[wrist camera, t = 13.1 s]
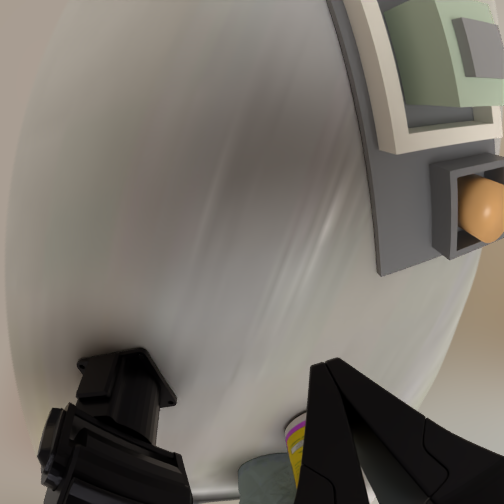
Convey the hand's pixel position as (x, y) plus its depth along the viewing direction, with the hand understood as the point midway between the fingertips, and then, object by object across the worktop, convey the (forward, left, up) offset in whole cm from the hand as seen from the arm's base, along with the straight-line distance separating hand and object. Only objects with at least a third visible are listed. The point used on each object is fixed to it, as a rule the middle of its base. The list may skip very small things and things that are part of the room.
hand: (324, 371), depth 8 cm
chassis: (+5, -13, -11) cm, 18 cm away
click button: (-1, -14, -10) cm, 18 cm away
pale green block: (+9, -12, -11) cm, 18 cm away
